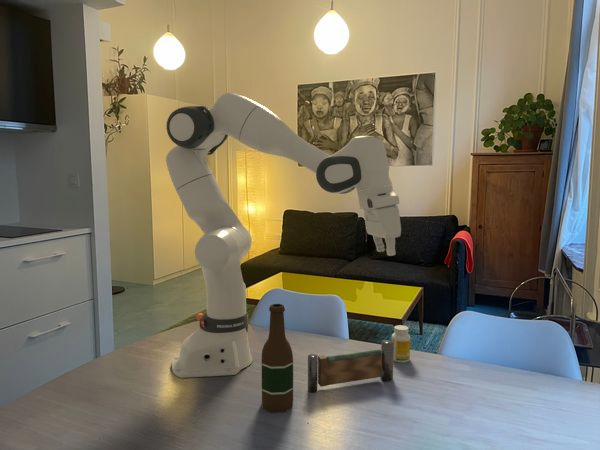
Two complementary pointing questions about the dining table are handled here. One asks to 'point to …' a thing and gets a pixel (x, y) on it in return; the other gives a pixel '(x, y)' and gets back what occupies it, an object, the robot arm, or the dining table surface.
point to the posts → (386, 365)
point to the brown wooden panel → (349, 367)
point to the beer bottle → (277, 365)
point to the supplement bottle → (401, 344)
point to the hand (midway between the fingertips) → (386, 253)
